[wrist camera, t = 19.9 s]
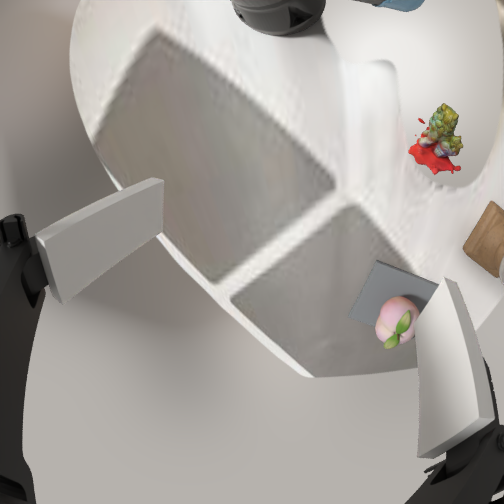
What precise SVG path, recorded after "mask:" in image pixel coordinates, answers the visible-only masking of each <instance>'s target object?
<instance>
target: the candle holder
mask: <svg viewBox="0 0 504 504" xmlns="http://www.w3.org/2000/svg"><path fill="white" fill-rule="evenodd" d="M463 250H464V252H465V253H466V254H467V255H468V256H469V257H470V258H471V259H473V260H474V261H475V262H477V263H478V264H479V265H480V266H482V267H483V268H484V269H485V270H487V271H488V272H489V273H490V274H492V275H493V276H495V277H496V278H498V277H500V280H501V282H502V284H503V285H504V210H503V209H502V208H500V207H499V206H498V205H497V204H496V203H494V202H493V201H490V203H489V204H488V206H487V208H486V209H485V211H484V213H483V215H482V216H481V218H480V220H479V221H478V223H477V225H476V226H475V228H474V230H473V231H472V233H471V234H470V236H469V238H468V239H467V241H466V242H465V244H464V246H463Z"/></svg>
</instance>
